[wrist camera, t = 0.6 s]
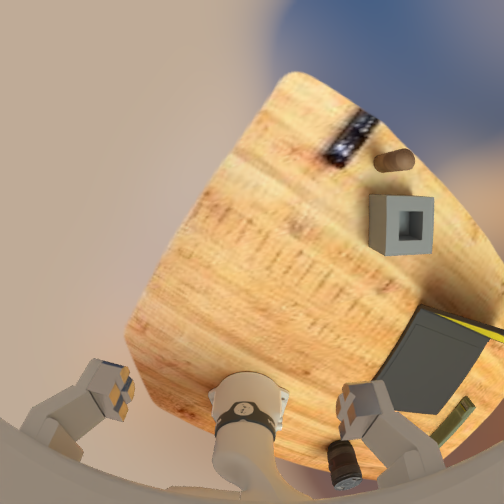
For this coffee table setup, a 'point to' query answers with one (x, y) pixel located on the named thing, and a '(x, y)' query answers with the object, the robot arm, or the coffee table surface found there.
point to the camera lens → (343, 465)
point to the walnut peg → (394, 161)
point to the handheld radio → (453, 421)
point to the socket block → (401, 224)
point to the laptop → (433, 359)
